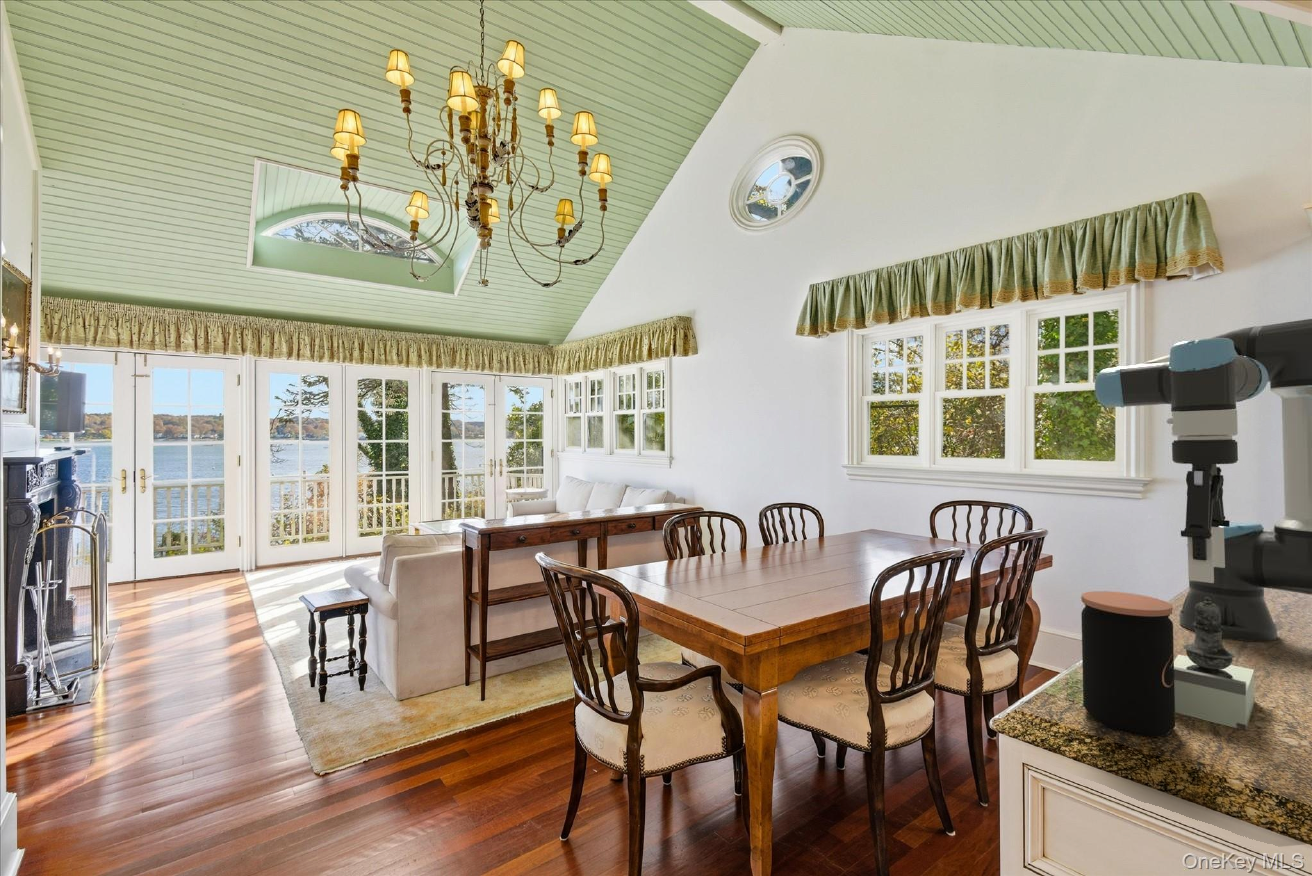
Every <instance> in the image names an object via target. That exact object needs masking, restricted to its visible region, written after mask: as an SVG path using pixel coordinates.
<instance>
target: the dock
mask: <svg viewBox="0 0 1312 876" xmlns="http://www.w3.org/2000/svg"><path fill="white" fill-rule="evenodd" d="M1191 665H1197V664H1194V663H1193V662H1192V661H1191V660H1190V659H1189V658H1188V656H1187V655H1184V654H1183V655H1182V654H1177V656H1176V657H1175V659H1174V688H1175V714H1180V715H1184V716H1187V717H1192V718H1194V719H1195V718H1196V719H1199V720H1204V721H1206V722H1211V723H1215V724H1219V725H1223V726H1225V727H1230V728H1235V729H1239V730H1242V731H1245V732H1246V731H1247V730H1248V726H1249V723H1250V719H1251V715H1252V713H1253V708H1254V705H1255V702H1256V695H1255V693H1256V692H1255V691H1256V690H1255V669H1251V668H1247V667H1243V666H1238V665H1233V664H1230V666H1229V667H1227V668H1225V669H1222V670H1224V671H1226V672H1228V673H1229V674H1230V675H1232V677H1233V678H1232V679H1229V678H1225V677H1220V676H1215V675H1210V674H1206V673H1201V672H1196V671H1192V670H1187V669H1186V668H1187V667H1188V666H1191Z"/></svg>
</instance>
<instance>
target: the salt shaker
mask: <svg viewBox="0 0 1312 876" xmlns="http://www.w3.org/2000/svg"><path fill="white" fill-rule="evenodd" d="M1205 600H1206V601H1204V602H1200V603H1198V604H1197V605H1196V607H1195V611H1196V622H1195V623H1193V625H1194V626H1195V631H1194V632H1195V633H1194V636H1195V637H1194V639H1193V642H1191V643H1186V644H1184V645H1183V649H1184V650H1185V652H1186V656H1188V658H1189V659H1190V660H1191V661H1192V662H1193V663H1194V664H1197V665H1191V666H1188V667H1187V668H1186V669H1187V670H1192V671H1196V672H1201V673H1206V674H1210V675H1215V676H1220V677H1225V678H1229V679H1232V678H1233V677H1232V675H1230V674H1229V673H1228V672H1226V671H1224V670H1222V669H1225V668H1227V667H1229V666H1230V665H1232V662H1233V658H1235V657H1236V654H1235V653H1234V652H1233V651H1232V650H1231V651H1230V650H1228V649H1226V648H1225V647H1224V645H1223V638H1222V630H1224V627H1222V626H1221V610H1220V608H1219V607H1218V606H1217V605H1216V604H1213V603H1212V602H1210V600H1211V599H1210V598H1209V597H1206V599H1205Z"/></svg>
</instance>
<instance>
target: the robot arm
mask: <svg viewBox="0 0 1312 876" xmlns="http://www.w3.org/2000/svg"><path fill="white" fill-rule="evenodd" d="M1268 382H1269V387H1270V391H1271V392H1272V393H1274V394H1275V395H1277V396H1279V397H1280V399H1281V421H1282V422H1281V423H1282V424H1281V425H1282V430H1281V431H1282V458H1283V459H1282V461H1283V466H1282V467H1283V493H1284V494H1283V496H1284V498H1283V499H1284V516H1283V518H1281V519H1279V520H1278V521H1276V522H1275V523H1274V525H1273V527H1274V528H1273V531H1266V530H1265V529H1264V526H1263V525H1262V523H1258V522H1255V523H1254V522H1230V520H1228V519H1227V520H1226V516H1225V511H1224V509H1225V508H1224V500H1223V498H1224V497H1223V494H1224V488H1223V486H1224V481H1225V478H1224V475H1223V474H1221V473H1222V469H1221V467H1220V466H1217V465H1229V464H1230V465H1233V464H1236V463H1238V461H1239V455H1238V454H1239V453H1238V450H1239V449H1238V447H1239V446H1238V441H1237V440H1236V439H1233V437H1234V436H1237V435H1238V433H1239V432H1238V429H1239V428H1238V410H1237V403H1239V402H1244V401H1247V400H1250V399H1253V398H1254V397H1256V396H1258V395H1260V393H1262V392H1263V391H1264V390H1265V388H1266V387H1267V385H1268ZM1094 392H1095V397H1096V399H1097V401H1098V403H1100V405H1102V406H1103V407H1107V408H1115V407H1116V408H1125V407H1137V406H1138V407H1140V406H1154V405H1156V406H1157V405H1170V407H1171V408H1170V413H1171V417H1170V418H1167V419H1166V424H1167V425H1172V426H1171V430H1172V431H1171V435H1172V436H1173V437H1177V440H1176V439H1175V440H1173V441H1172V442H1171V452H1172V453H1171V458H1172V459H1171V460H1172V461H1173V462H1174V463H1176V464H1181V465H1182V464H1184V465H1189V464H1190V465H1192V467H1191V470H1188V471H1187V473H1186V477H1185V481H1186V486H1187V487H1186V488H1187V489H1186V509H1185V512H1186V513H1185V528H1184V530H1180V536H1181V537H1182V538H1187V544H1186V547H1187V567H1188V568H1187V570H1188V573H1187V574H1188V592H1187V595H1186V597H1185V599H1184V602H1183V604H1182V608H1181V610H1179V615H1178V617H1179V618H1178V619H1179V621H1178V623H1179V625H1181V626H1182V627H1183V628H1186V629H1188V630H1190V631H1194V632H1195V626H1194V625H1193V623H1195V622H1196V611H1195V607H1196V605H1197V604H1198V603H1200V602H1204V601H1206V600H1205V599H1206V597H1209V598H1210V599H1211V600H1210V602H1212V603H1213V604H1216V605H1217V606H1218V607H1219V608H1220V610H1221V626H1222V627H1224V630H1222V639H1223V638H1224V639H1230V640H1236V641H1237V640H1238V641H1247V642H1272V641H1275V640H1277V639H1278V627H1277V624H1275V622H1274V620H1273V617H1272V615H1271V612H1270V610H1269V607H1268V605H1267V602H1266V600H1265V589H1271V590H1278V591H1284V592H1292V593H1296V594H1297V593H1298V594H1305V595H1311V596H1312V318H1308V319H1302V320H1301V319H1300V320H1293V321H1287V322H1280V323H1273V324H1272V323H1271V324H1266V325H1260V326H1259V325H1258V326H1250V327H1244V328H1243V327H1242V328H1239V329H1235V330H1231V331H1228V332H1225V333H1221V334H1218V335H1215V336H1212V337H1209V338H1199V339H1193V340H1186V341H1179V342H1177V343H1175V344H1173V345H1172V346H1171V347H1170V350H1169V354H1168V355H1165V356H1161V357H1158V358H1154V359H1150V360H1148V361H1144V362H1141V363H1137V364H1133V365H1125V366H1120V365H1118V366H1116V367H1110V368H1105V369H1102V370H1100V371H1099V373H1098V374H1097V375H1096V377H1095V381H1094Z"/></svg>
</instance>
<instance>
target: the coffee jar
mask: <svg viewBox="0 0 1312 876" xmlns="http://www.w3.org/2000/svg"><path fill="white" fill-rule="evenodd" d="M1080 599H1081V602H1082V603H1083V605H1084V607H1083V608H1082V610H1081V653H1082V654H1081V655H1082V657H1081V658H1082V659H1081V661H1082V663H1081V665H1082V666H1081V667H1082V701H1083V702H1082V705H1083V707H1084V709H1085V711H1086V712H1087V714H1088V715H1089V716H1090V717H1091V719H1093V720H1094V721H1095V722H1097V723H1098V724H1099V725H1102V726H1104V727H1107V728H1108V729H1112V730H1114V731H1117V732H1119V733H1120V732H1121V733H1124V734H1128V735H1133V736H1138V735H1140V737H1144V736H1145V737H1146V738H1147V737H1148V738H1159V737H1165V736H1167V735H1168V734H1170V732H1171V731H1172V730H1174V729H1175V727H1176V713H1175V688H1174V660H1175V659H1174V658H1175V657H1174V656H1175V654H1174V652H1175V651H1174V648H1175V647H1174V623H1173V621H1172V620H1171V619H1170V616H1171V615H1172V614H1173V610H1174V609H1173V604H1171V603H1169V602H1167V601H1165V600H1163V599H1159V598H1157V597H1156V598H1155V597H1152V596H1148V595H1142V594H1137V593H1132V592H1131V593H1129V592H1124V591H1123V592H1122V591H1109V590H1107V591H1106V590H1104V591H1103V590H1101V591H1100V590H1096V591H1095V590H1094V591H1085V592H1084V593H1081V597H1080Z"/></svg>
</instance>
